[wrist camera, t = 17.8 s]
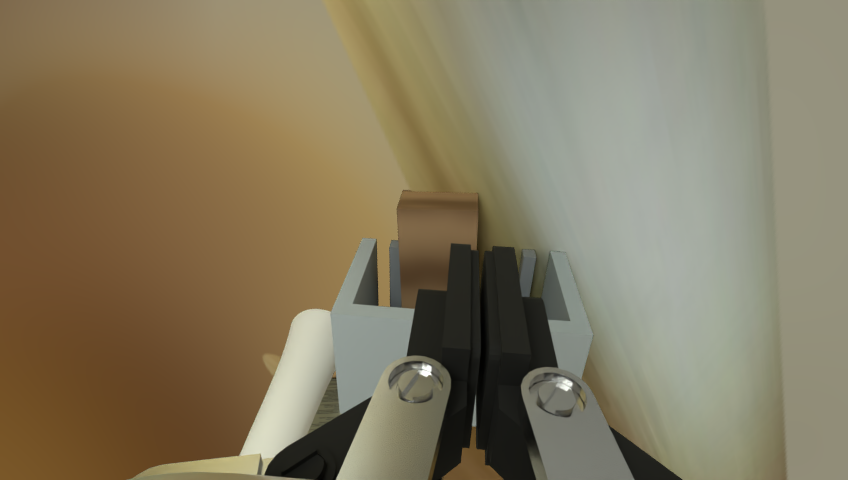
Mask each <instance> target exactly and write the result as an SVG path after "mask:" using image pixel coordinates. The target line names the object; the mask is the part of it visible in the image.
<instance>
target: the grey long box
mask: <svg viewBox="0 0 848 480" xmlns="http://www.w3.org/2000/svg"><path fill="white" fill-rule="evenodd" d="M389 251H390V307H384V306H378V274H377V240H376V239H370V238H362V241H361V243H360V246H359V248H358V250H357V252H356V255H355V257H354V259H353V262H352V264H351V266H350V269H349V271H348V273H347V276H346V278H345V281H344V283H343V285H342V287H341V290H340V292H339V294H338V297H337V299H336V302H335V304H334V306H333V309H332V311H331V313H330V316H331V326H332V337H333V347H334V358H335V368H336V378H337V389H338V399H339V410H340V413H341V414H343V413H344V412H346V411H348V410H349V409H351V408H353V407H354V406H356V405H358V404H360V403H361V402H363V401H365V400H366V399H368V398H370V397H371V396H373V394H374V391H375V389H376V387H377V385H378V382H379V380H380V378H381V375H382V373H383V372H384V370H385V369H386V367H387V366H388V365H390V364H391V363H392V362H394V361H395V360H398V359H400V358H402V357H406V356H407V350H408V344H409V339H410V333H411V327H412V322H413V316H414V310H415V309H410V308H402V302H401V282H400V262H399V242H398V240H392V241H391V244H390V248H389ZM535 262H536V254H535V250H527V249H522V255H521V261H520V267H519V280H520V287H521V293H522V297H529V296H530V290H531V284H532V279H533V273H534V268H535ZM541 298H542V299H543V301H544V305H545V309H546V314H547V318H548V323H549V327H550V332H551V336H552V341H553V345H554V350H555V354H556V359H557V363H558V368H560V369H563V370H566V371H569V372H571V373H572V374H574V375H576V376H578V377H579V378H580V379H581V378H582V374H583V371H584V367H585V364H586V360H587V356H588V353H589V349H590V346H591V342H592V339H593V332H592V330H591V327H590V324H589V321H588V318H587V315H586V312H585V309H584V306H583V303H582V300H581V297H580V294H579V292H578V289H577V286H576V283H575V280H574V277H573V274H572V271H571V268H570V265H569V262H568V259H567V256H566V254H565V252H555V251H550V255H549V261H548V266H547V271H546V276H545V281H544V286H543V292H542V297H541ZM472 426H476V397H475V405H474V413H473V422H472Z"/></svg>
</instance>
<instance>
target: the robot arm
mask: <svg viewBox="0 0 848 480" xmlns="http://www.w3.org/2000/svg"><path fill="white" fill-rule="evenodd" d="M475 397H476V448H477V449H483V450H485V465H490V466H491V467H492V468H493V469H494V470H495V471H496V472H497V473H498V474H499V475H500V476H501V477H502V478H503V480H682V479H681V478H680V477H678V476H677V475H675V474H674V473H673V472H671V471H670V470H669V469H667V468H666V467H665V466H663V465H662V464H660V463H659V462H658V461H656V460H655V459H654V458H652V457H651V456H650V455H648V454H647V453H646V452H644V451H643V450H641V449H640V448H639V447H637V446H636V445H635V444H633V443H632V442H631V441H629V440H628V439H626V438H625V437H624V436H622V435H621V434H620V433H618V432H617V431H616V430H614V429H613V428H612V427H610V426H609V425H608V424H607V422H606V419H605V417H604V415H603V413H602V411H601V409H600V407H599V405H598V403H597V401H596V399H595V397H594V394H593V392H592V391H591V390H590V388H589V387H588V385H587V384H586V383H585V382H584V381H583V380H582V379H580V378H579V377H578V376H576V375H574V374H572V373H571V372H569V371H566V370H563V369H560V368H558V363H557V359H556V354H555V350H554V345H553V341H552V336H551V332H550V327H549V323H548V318H547V314H546V309H545V305H544V301H543V299H542V298H534V297H522V293H521V287H520V280H519V274H518V268H517V261H516V255H515V249H514V248H513V247H499V246H493V249H492V251H485V253H484V261H483V270H482V279H481V288H480V286H479V251H478V250H471V245H470V244H456V243H451V247H450V259H449V271H448V283H447V291H443V290H430V289H418V293H417V299H416V305H415V310H414V316H413V322H412V327H411V333H410V339H409V344H408V350H407V356H406V357H402V358H400V359H398V360H395V361H394V362H392V363H391V364H390V365H388V366H387V367H386V369H385V370H384V372H383V373H382V375H381V378H380V380H379V382H378V385H377V387H376V389H375V391H374V394H373V396H371V397H370V398H368V399H366V400H365V401H363V402H361V403H360V404H358V405H356V406H354V407H353V408H351V409H349V410H348V411H346V412H344V413H343V414H341V415H339V416H338V417H336V418H334V419H333V420H331V421H329V422H327V423H326V424H324V425H322V426H321V427H319V428H317V429H316V430H314V431H312V432H311V433H309V434H307V435H306V436H304V437H302V438H300V439H299V440H297V441H295V442H294V443H292V444H290V445H289V446H287V447H286V448H284V449H283V450H282V451H280V452H279V453H278V454H276V456H275V457H274V458H266V459H262V457H261V453H260V454H251V455H243V456H234V457H225V458H217V459H208V460H199V461H190V462H183V463H173V464H165V465H160V466H156V467H153V468H150V469H147V470H146V471H144V472H142V473H140V474H139V475H137V476H135V477H134V478H132V479H129V480H443V478H444V475H446V474H447V473H448V472H449V471H451V470H452V469H453V468H454V467H456V466H457V465H458V464H459V463H461V454H462V447H463V448H469V446H470V438H471V430H472V422H473V413H474V405H475Z"/></svg>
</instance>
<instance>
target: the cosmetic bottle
mask: <svg viewBox="0 0 848 480" xmlns="http://www.w3.org/2000/svg"><path fill="white" fill-rule="evenodd" d="M330 313H331V312H330V311H327V310H323V309H309V310H305V311H303V312H301V313H299V314H298V315H297V316H296V317H295V318H294V319H293V321H292V324H291V328H290V332H289V335H288V339H287V342H286V345H285V348H284V351H283V354H282V357H281V360H280V362H279V365H278V367H277V370H276V372H275V375H274V377H273V380H272V382H271V384H270V387H269V389H268V392H267V394H266V396H265V398H264V401H263V403H262V406H261V408H260V410H259V412H258V414H257V416H256V419H255V421H254V423H253V426H252V428H251V430H250V432H249V435H248V437H247V440H246V442H245V444H244V447H243V449H242V451H241V453H240V456H243V455H251V454H260V453H261V457H262V459H266V458H274V457H275V456H276V454H278V453H279V452H280V451H282V450H283V449H284V448H286V447H287V446H289V445H290V444H292V443H294V442H295V441H297V440H299V439H300V438H302V437H304V436H306V435H307V434H308V431H309V429H310V426H311V424H312V422H313V419H314V417H315V414H316V412H317V410H318V407H319V405H320V403H321V400H322V398H323V396H324V394H325V391H326V389H327V387H328V385H329V383H330V380H331V378H332V376H333V374H334V372H335V370H336V368H335V358H334V347H333V337H332V326H331V316H330Z"/></svg>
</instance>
